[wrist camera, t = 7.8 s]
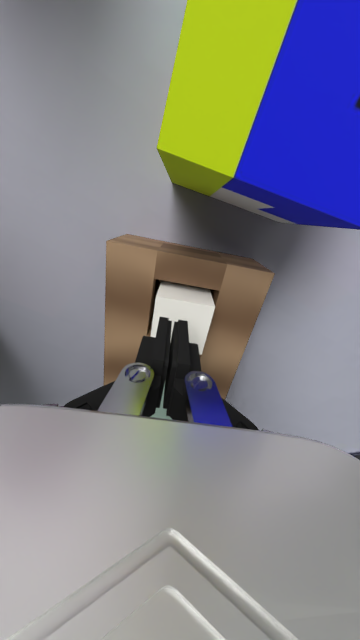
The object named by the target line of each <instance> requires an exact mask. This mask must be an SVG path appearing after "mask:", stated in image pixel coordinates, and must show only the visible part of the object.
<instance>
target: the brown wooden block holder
mask: <svg viewBox="0 0 360 640" xmlns="http://www.w3.org/2000/svg"><path fill="white" fill-rule="evenodd" d="M274 274H275V273H273V272H272V271H270V270H269V269H267V268H266V267H264V266H263V265H261V264H260V263H258V262H257V261H255V260H254V259H251V258H246V257H241V256H236V255H231V254H226V253H221V252H215V251H210V250H205V249H200V248H195V247H190V246H185V245H180V244H175V243H170V242H165V241H159V240H154V239H149V238H144V237H139V236H134V235H129V234H126V235H123V236H120V237H117V238H114V239H111V240H108V241H106V295H105V348H104V386H105V385H107V384H109V383H111V382H113V381H115V380H116V379H117V377H118V376H119V374H120V372H121V371H122V369H123V368H124V367H125V366H126V365H128V364H131V363H135V360H136V357H137V354H138V350H139V347H140V344H141V340H142V337H143V336H149V337H150V336H151V329H152V321H153V314H154V307H155V299H156V295H157V292H158V289H159V287H160V284H161V281H162V280H164V281H169V282H175V283H180V284H186V285H191V286H196V287H202V288H207V289H210V292H211V295H212V298H213V301H214V305H215V309H214V313H213V317H212V320H211V324H210V327H209V331H208V334H207V338H206V341H205V345H204V348H203V352H202V355H200V354H199V355H200V363H201V370H202V372H204V373H206V374H208V375H210V376H211V377H212V378H213V380H214V381H215V383H216V386H217V388H218V391H219V394H220V396H221V398H223V399H224V400H225V398H226V396H227V393H228V390H229V388H230V385H231V383H232V380H233V378H234V375H235V373H236V370H237V368H238V365H239V363H240V360H241V358H242V355H243V353H244V350H245V348H246V345H247V342H248V340H249V337H250V335H251V332H252V330H253V327H254V325H255V322H256V320H257V317H258V315H259V312H260V310H261V307H262V305H263V302H264V300H265V297H266V294H267V292H268V289H269V287H270V284H271V282H272V279H273V277H274Z"/></svg>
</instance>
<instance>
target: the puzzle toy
mask: <svg viewBox="0 0 360 640" xmlns="http://www.w3.org/2000/svg"><path fill="white" fill-rule="evenodd" d="M157 150H158V152H159V154H160V157H161V159H162V161H163V163H164V166H165V168H166V170H167V172H168V175H169V177H170V179H171V182H172V183H175V184H177V185H180V186H183V187H186V188H188V189H191V190H194V191H196V192H199V193H202V194H204V195H207V196H210V197H212V198H215V199H218V200H221V201H223V202H226V203H229V204H231V205H234V206H237V207H239V208H242V209H245V210H247V211H250V212H253V213H255V214H258V215H261V216H264V217H266V218H269V219H272V220H274V221H277V222H280V223H290V224H301V225H313V226H325V227H337V228H348V229H360V0H187V5H186V10H185V15H184V20H183V24H182V29H181V34H180V39H179V44H178V49H177V53H176V58H175V63H174V68H173V73H172V77H171V82H170V87H169V92H168V97H167V101H166V106H165V111H164V116H163V121H162V125H161V130H160V135H159V140H158V145H157Z"/></svg>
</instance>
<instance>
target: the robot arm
mask: <svg viewBox="0 0 360 640" xmlns="http://www.w3.org/2000/svg"><path fill="white" fill-rule="evenodd" d="M171 326H172V321H170V320H169V318H166V317H160V318H159V323H158V328H157V333H156V337H149V336H143V337H142V340H141V344H140V347H139V350H138V354H137V357H136V360H135V363H131V364H128V365H126V366H125V367H124V368H123V369H122V371H121V372H120V374H119V376H118V377H117V379H116V380H115V381H113V382H111V383H109V384H107V385H105V386H102V387H100V388H98V389H96V390H94V391H91V392H89V393H87V394H85V395H83V396H81V397H78V398H76V399H74V400H72V401H70V402H69V403H67V404H66V405H65V406H59V407H58V404H47V405H31V404H2V405H0V640H360V460H358V459H357V458H355V457H353V456H352V455H350V454H348V453H346V452H344V451H342V450H340V449H338V448H335V447H333V446H331V445H328V444H325V443H322V442H319V441H316V440H311V439H307V438H304V437H298V436H292V435H286V434H280V433H274V432H271V431H268V430H265V429H262V430H261V431H260V430H258V428H257V427H256V426H255V425H254V424H253V423H252V422H251V421H250V420H248V419H247V418H246V417H245V416H243V415H242V414H241V413H240V412H239V411H237V410H236V409H235V408H234V407H232V406H231V405H230V404H229V403H227V402H226V401H225V400H224V399H223V398H221V396H220V394H219V391H218V388H217V386H216V383H215V381H214V380H213V378H212V377H211V376H210V375H208V374H206V373H204V372H202V370H201V363H200V355H199V348H198V344H195V343H189V334H188V321H184V320H178V322H176V321H175V322H174V327H173V332H172V337H171ZM170 339H171V342H170ZM164 384H165V389H164ZM163 389H164V400H163V409H167V411H166V416H170V417H171V419H172V420H171V419H162V418H154V417H150V416H152V415H153V414H155V411H156V408H160V404H161V399H162V394H163Z"/></svg>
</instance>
